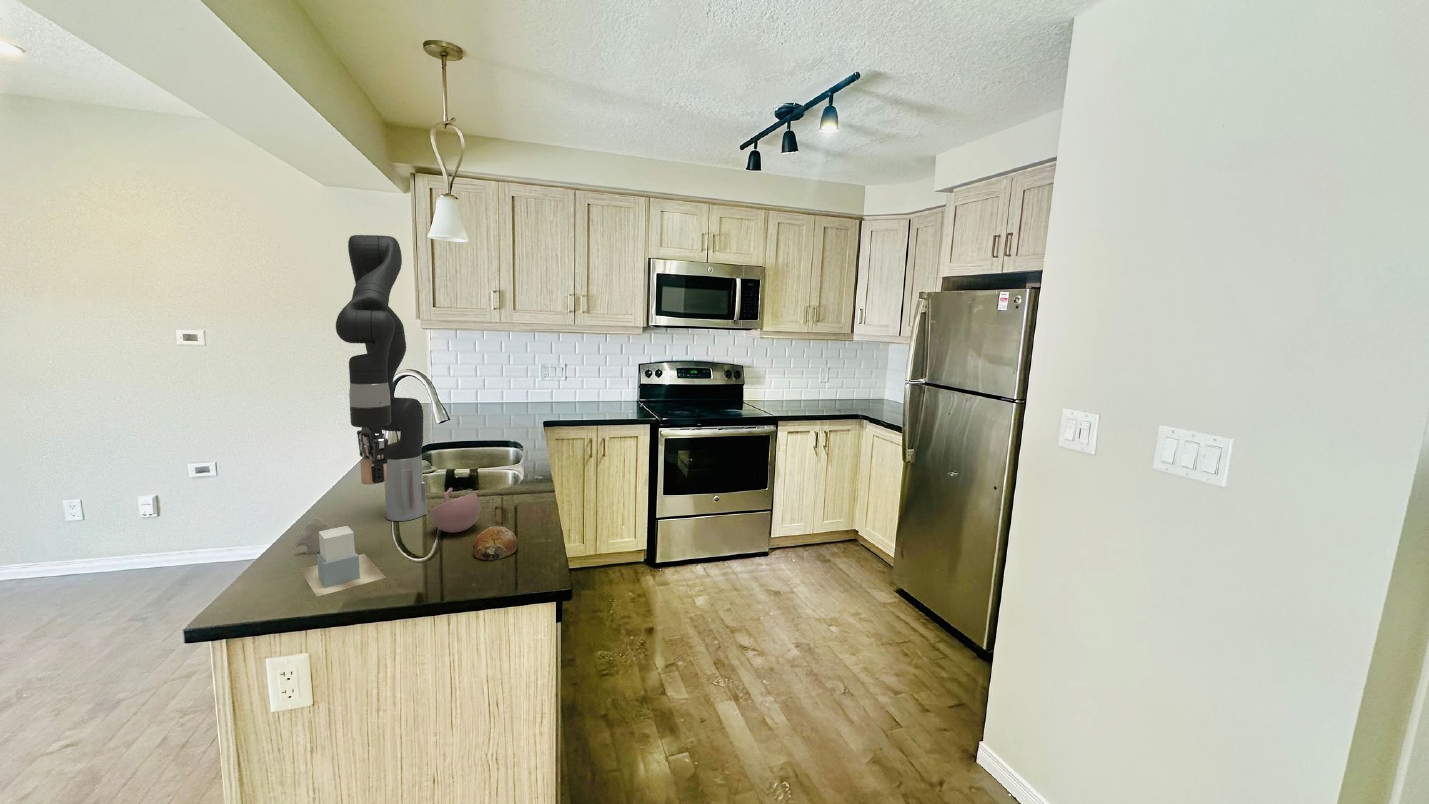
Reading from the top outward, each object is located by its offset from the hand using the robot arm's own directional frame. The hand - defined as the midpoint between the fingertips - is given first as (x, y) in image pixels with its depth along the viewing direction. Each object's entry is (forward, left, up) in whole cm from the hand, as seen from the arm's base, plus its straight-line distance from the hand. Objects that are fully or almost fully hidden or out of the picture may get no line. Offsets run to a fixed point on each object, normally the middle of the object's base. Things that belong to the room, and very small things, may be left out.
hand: (374, 479), depth 123 cm
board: (+8, +4, -20) cm, 22 cm away
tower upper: (+9, +6, -13) cm, 17 cm away
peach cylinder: (0, 0, 0) cm, 0 cm away
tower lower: (+9, +6, -18) cm, 21 cm away
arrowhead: (+9, -12, -20) cm, 25 cm away
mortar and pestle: (-20, -8, -20) cm, 29 cm away
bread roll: (-22, +11, -20) cm, 32 cm away
